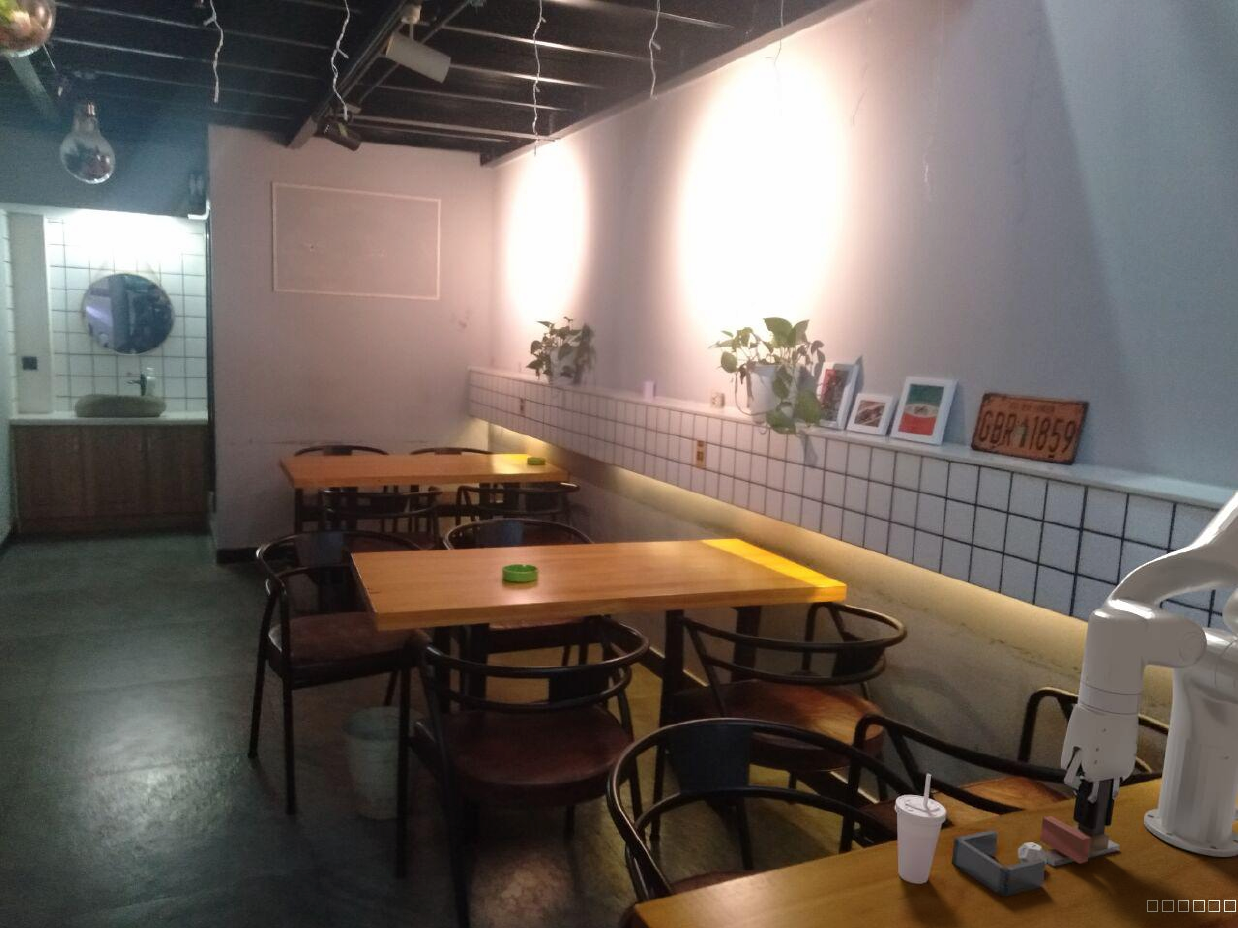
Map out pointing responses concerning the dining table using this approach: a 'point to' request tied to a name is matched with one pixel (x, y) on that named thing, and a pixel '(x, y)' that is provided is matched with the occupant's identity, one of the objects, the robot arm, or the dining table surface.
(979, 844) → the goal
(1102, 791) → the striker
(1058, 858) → the rail
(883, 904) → the dining table surface
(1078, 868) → the dining table surface
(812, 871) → the dining table surface
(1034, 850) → the game die
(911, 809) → the smoothie
